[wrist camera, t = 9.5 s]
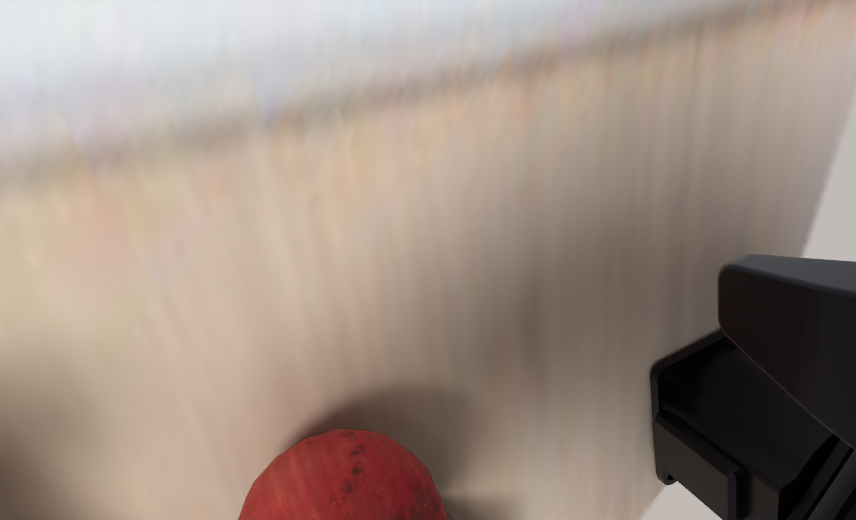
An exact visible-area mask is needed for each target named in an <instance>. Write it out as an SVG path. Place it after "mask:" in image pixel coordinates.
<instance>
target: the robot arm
mask: <svg viewBox="0 0 856 520" xmlns="http://www.w3.org/2000/svg"><path fill="white" fill-rule="evenodd" d="M718 321H719V324H720V326H721V328H722V330H721V331H719V332H717V333H715V334H713V335H711V336H709V337H708V338H706V339H704V340H702V341H700V342H698V343H696V344H694V345H692V346H690V347H688V348H686V349H684V350H682V351H681V352H679V353H677V354H675V355H673V356H671V357H669V358H667V359H665V360H663V361H661V362H659V363H658V364H657V365H655V367H654V368H653V369H652V372H651V376H650V380H651V395H652V410H653V425H654V440H655V455H656V470H657V477H658V479H660V480H661V481H662V482H663V483H664V484H665V485H671V484H673V483H675V482H676V481H678V482H679V483H681V484H682V485H683V486H684V487H685V488H686V489H688V490H689V491H690V492H691V493H692V494H694V495H695V496H696V497H697V498H698V499H699V500H700V501H702V502H703V503H704V504H705V505H706V506H707V507H709V508H710V509H711V510H712V511H713V512H714V513H716V514H717V515H718V516H719V517H720V518H721V519H722V520H856V262H851V261H836V260H824V259H810V258H796V257H782V256H769V255H755V254H749V255H744V256H741V257H739V258H737V259H735V260H733V261H731V262H729V263H727V264H725V265H724V266H723V267H721V269H720V271H719V273H718Z"/></svg>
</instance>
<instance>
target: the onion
mask: <svg viewBox="0 0 856 520" xmlns="http://www.w3.org/2000/svg"><path fill="white" fill-rule="evenodd" d="M238 520H448V516H447V514H446V512H445V509H444V507H443V504H442V502H441V499H440V497H439V494H438V492H437V490H436V487H435V485H434V482H433V480H432V478H431V475H430V473H429V470H428V469H427V468H426V467H425V466H424V465H423V464H422V463H421V462H420V461H419V460H418V459H417V458H416V457H415V456H414V455H413V454H412V453H411V452H410V451H408V450H407V449H405V448H404V447H403V446H401V445H400V444H398V443H397V442H395V441H394V440H393V439H391V438H390V437H388V436H387V435H385V434H380V433H376V432H372V431H366V430H351V429H334V430H331V431H328V432H325V433H322V434H319V435H316V436H312V437H309V438H306V439H304V440H302V441H301V442H299V443H298V444H296V445H294V446H293V447H291V448H290V449H288V450H287V451H285V452H284V453H282V454H280V455H279V456H277V457H276V458H275V459H274V460H273V461H272V462H271V464H270V465H269V466H268V467H267V468H266V469H265V470H264V471H263V473H262V474H261V475H260V476H259V477H258V478H257V479H256V480H255V482H254V483H253V485H252V487H251V489H250V491H249V493H248V495H247V497H246V499H245V502H244V505H243V508H242V510H241V513H240V516H239V519H238Z"/></svg>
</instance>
